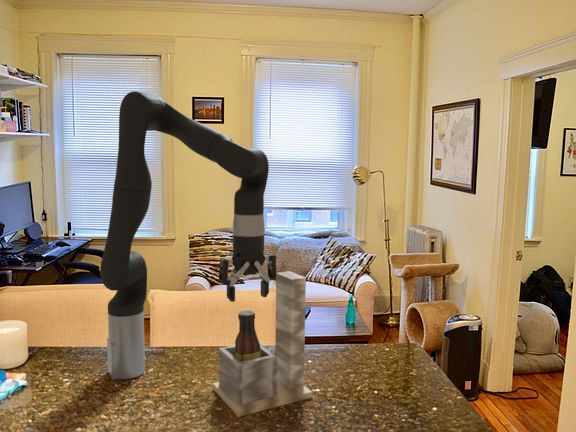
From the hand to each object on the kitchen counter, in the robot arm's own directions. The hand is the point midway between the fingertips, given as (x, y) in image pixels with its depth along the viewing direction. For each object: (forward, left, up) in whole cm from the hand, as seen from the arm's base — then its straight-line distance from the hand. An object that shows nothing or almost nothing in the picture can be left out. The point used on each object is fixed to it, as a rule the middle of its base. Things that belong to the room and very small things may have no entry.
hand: (248, 298), depth 122 cm
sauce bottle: (0, 0, -24) cm, 24 cm away
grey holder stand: (+4, 0, -25) cm, 25 cm away
